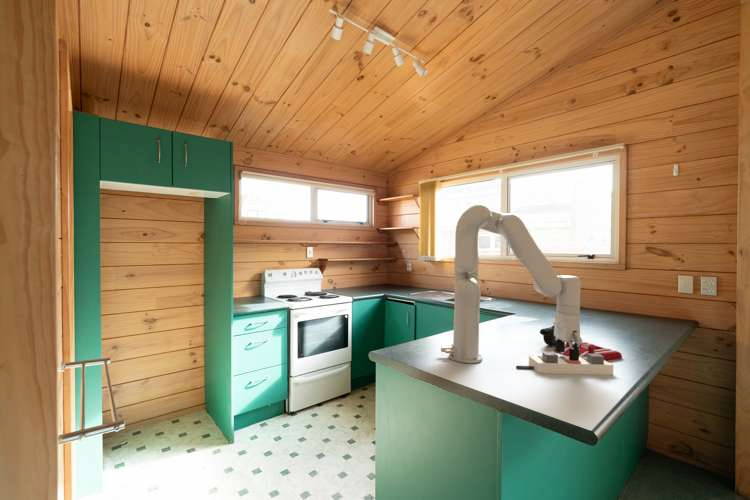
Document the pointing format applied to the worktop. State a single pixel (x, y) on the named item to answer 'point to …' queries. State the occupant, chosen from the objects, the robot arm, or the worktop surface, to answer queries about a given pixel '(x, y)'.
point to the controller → (549, 336)
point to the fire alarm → (593, 351)
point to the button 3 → (595, 358)
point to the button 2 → (572, 361)
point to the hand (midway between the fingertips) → (566, 355)
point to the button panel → (568, 366)
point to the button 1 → (549, 357)
